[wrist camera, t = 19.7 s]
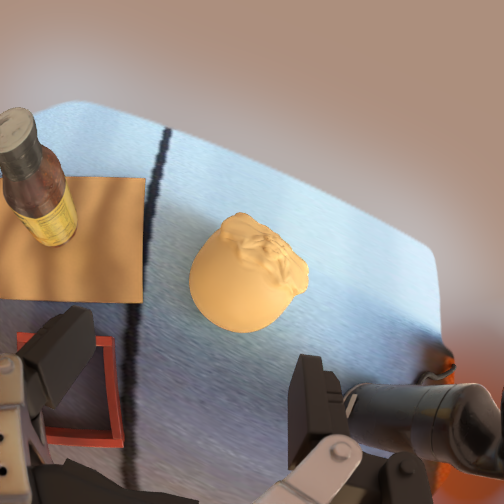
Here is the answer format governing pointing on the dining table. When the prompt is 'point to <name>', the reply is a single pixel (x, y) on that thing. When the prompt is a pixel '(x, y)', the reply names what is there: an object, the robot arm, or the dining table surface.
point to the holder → (116, 433)
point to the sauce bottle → (35, 181)
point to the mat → (80, 248)
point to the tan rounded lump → (245, 275)
